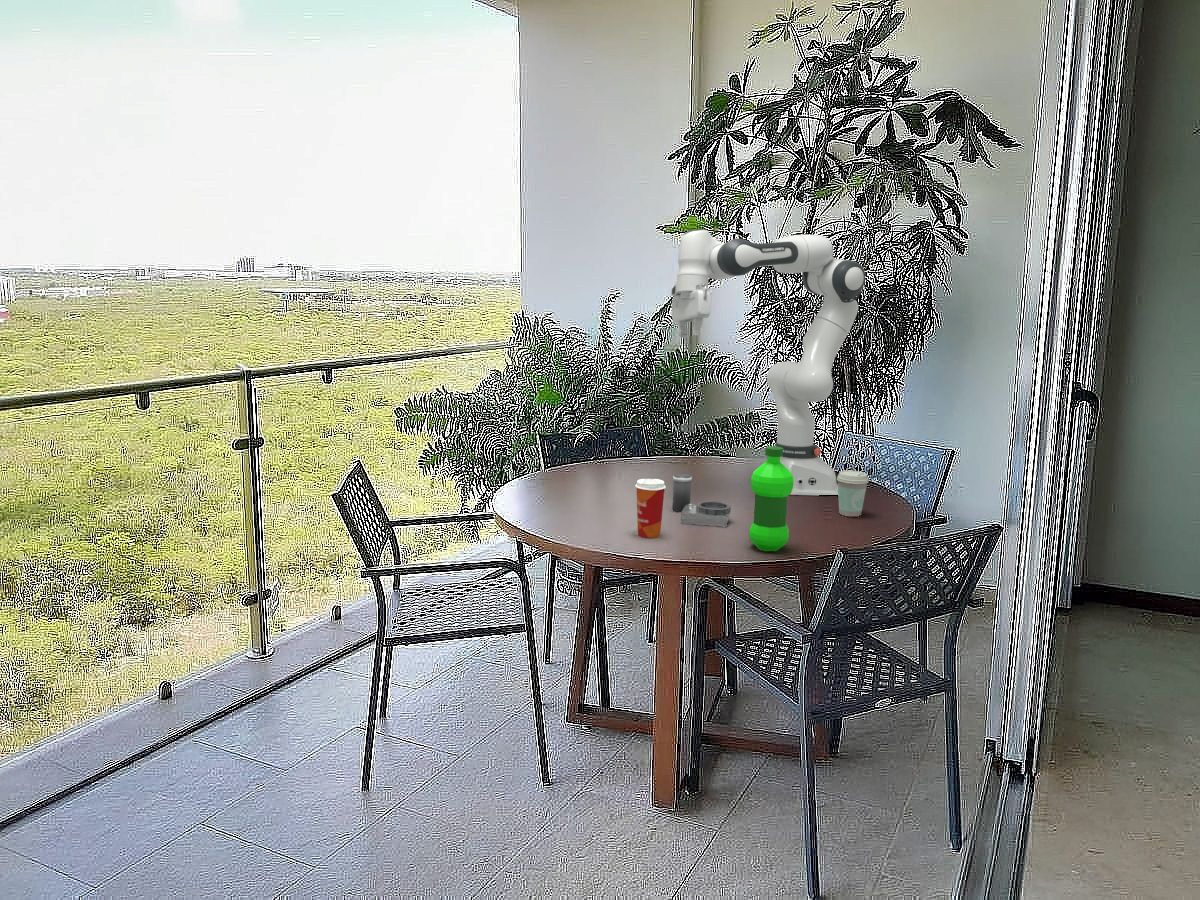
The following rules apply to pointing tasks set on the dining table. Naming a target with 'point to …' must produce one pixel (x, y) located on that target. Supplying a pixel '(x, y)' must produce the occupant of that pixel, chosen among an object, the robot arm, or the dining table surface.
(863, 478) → the coffee cup
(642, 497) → the paper cup
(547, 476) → the dining table surface
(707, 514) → the camera body
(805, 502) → the dining table surface
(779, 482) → the plastic bottle
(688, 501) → the lens
